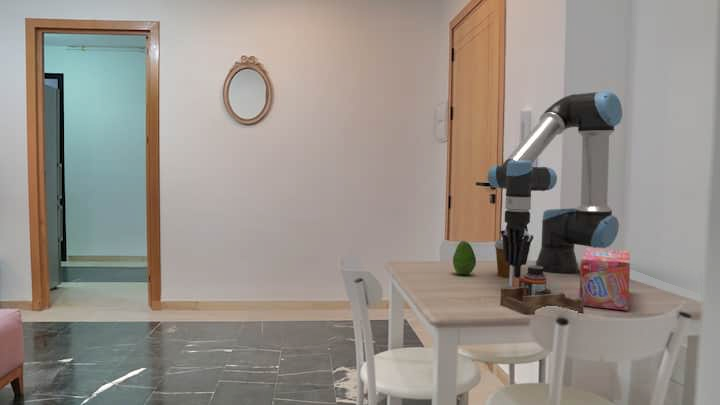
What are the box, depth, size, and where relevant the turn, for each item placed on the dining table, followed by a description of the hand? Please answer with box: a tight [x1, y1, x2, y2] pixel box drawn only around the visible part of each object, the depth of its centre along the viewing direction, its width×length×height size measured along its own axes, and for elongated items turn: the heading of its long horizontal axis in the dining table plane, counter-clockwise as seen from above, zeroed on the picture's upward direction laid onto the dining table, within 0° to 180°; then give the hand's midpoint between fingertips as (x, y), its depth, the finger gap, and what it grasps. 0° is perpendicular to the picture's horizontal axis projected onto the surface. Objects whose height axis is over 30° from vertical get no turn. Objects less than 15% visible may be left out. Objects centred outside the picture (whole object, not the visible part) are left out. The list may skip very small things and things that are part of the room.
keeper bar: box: [512, 275, 552, 294], centre depth 163 cm, size 3×14×4 cm, turn 23°
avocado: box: [452, 240, 477, 276], centre depth 192 cm, size 8×8×12 cm
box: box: [578, 247, 631, 312], centre depth 162 cm, size 27×13×14 cm, turn 155°
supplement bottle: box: [523, 265, 547, 296], centre depth 150 cm, size 6×6×11 cm
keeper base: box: [499, 287, 585, 315], centre depth 149 cm, size 17×14×4 cm
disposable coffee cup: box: [494, 239, 510, 278], centre depth 192 cm, size 10×10×12 cm
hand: (514, 285), depth 170 cm, fingers closed
